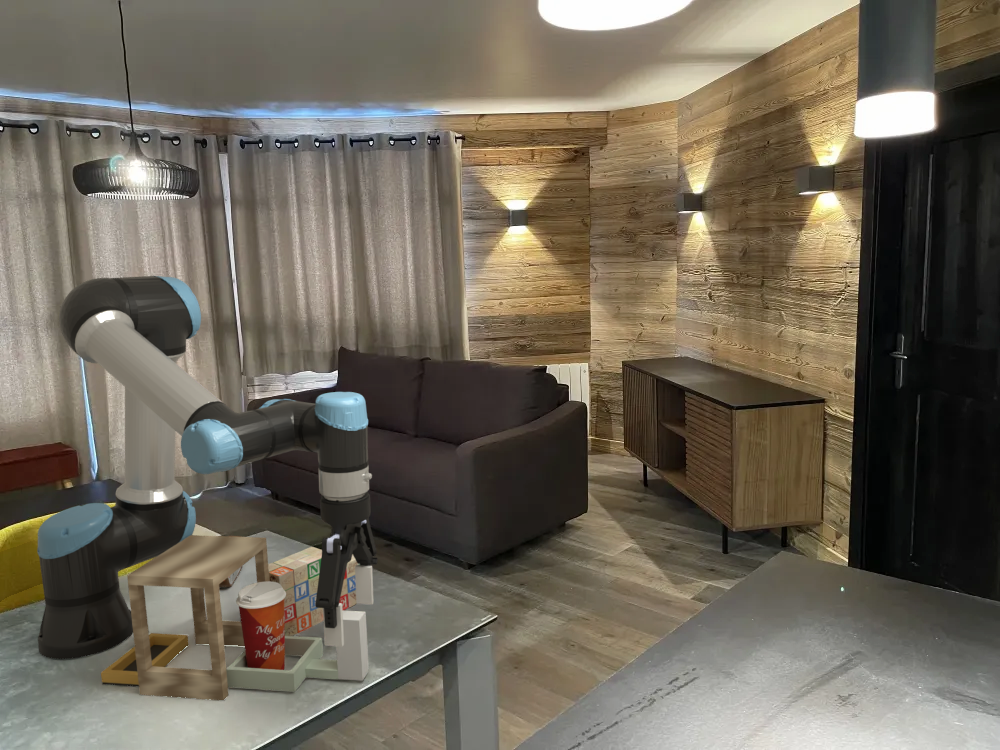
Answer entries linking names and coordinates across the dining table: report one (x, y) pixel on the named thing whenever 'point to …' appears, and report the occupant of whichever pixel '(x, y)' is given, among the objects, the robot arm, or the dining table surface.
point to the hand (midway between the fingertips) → (350, 623)
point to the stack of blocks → (307, 588)
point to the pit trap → (161, 655)
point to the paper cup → (263, 624)
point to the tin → (230, 580)
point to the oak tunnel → (196, 569)
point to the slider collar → (309, 660)
